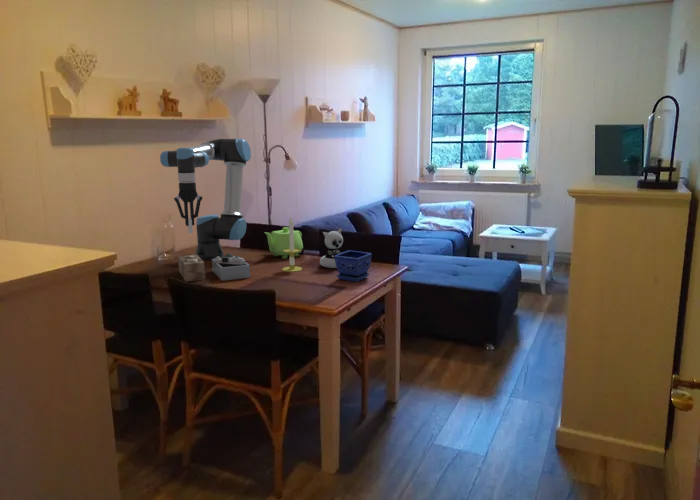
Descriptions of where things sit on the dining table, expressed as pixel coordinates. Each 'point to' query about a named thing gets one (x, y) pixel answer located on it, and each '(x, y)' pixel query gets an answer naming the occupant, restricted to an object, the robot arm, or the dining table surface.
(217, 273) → the caddy
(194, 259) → the cream rounded upright piece
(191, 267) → the beige slotted holder
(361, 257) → the flower pot
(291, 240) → the candle
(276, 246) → the teapot
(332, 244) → the decorative figurine
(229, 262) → the camera
